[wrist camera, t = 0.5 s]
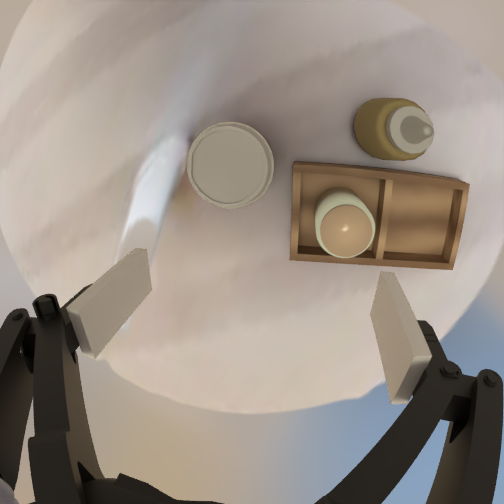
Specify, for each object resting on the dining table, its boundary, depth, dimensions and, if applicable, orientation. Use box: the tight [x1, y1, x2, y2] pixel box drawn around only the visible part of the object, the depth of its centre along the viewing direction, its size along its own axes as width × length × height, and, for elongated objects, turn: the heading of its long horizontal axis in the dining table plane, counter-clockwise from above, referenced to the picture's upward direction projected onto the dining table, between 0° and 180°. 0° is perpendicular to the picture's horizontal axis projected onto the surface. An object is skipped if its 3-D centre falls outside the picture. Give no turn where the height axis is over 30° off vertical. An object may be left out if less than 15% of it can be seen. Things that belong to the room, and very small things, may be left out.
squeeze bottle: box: [354, 98, 434, 161], centre depth 28 cm, size 8×8×18 cm
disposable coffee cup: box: [187, 122, 274, 209], centre depth 35 cm, size 10×10×12 cm
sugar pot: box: [314, 187, 375, 258], centre depth 37 cm, size 7×7×9 cm
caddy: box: [290, 161, 470, 270], centre depth 39 cm, size 13×25×4 cm, turn 90°
